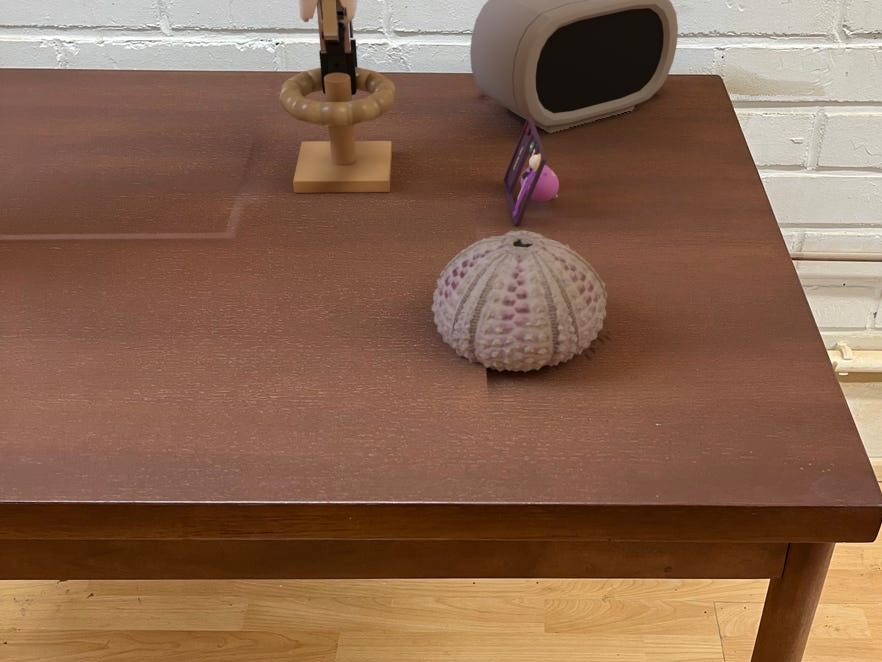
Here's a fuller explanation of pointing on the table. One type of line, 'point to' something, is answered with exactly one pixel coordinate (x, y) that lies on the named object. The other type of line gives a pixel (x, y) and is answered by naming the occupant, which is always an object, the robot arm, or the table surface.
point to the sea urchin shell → (519, 302)
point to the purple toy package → (529, 173)
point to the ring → (337, 111)
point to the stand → (342, 155)
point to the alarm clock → (572, 56)
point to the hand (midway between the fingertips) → (340, 86)
